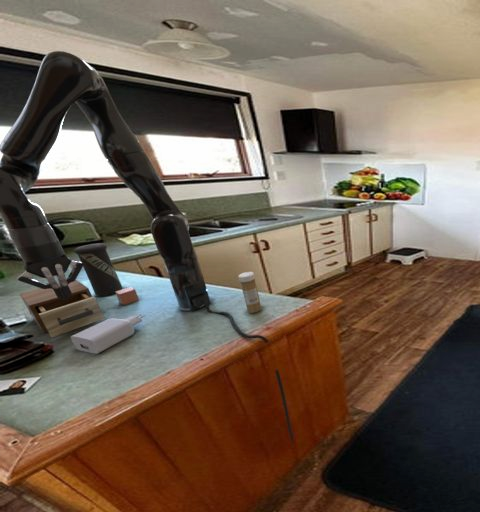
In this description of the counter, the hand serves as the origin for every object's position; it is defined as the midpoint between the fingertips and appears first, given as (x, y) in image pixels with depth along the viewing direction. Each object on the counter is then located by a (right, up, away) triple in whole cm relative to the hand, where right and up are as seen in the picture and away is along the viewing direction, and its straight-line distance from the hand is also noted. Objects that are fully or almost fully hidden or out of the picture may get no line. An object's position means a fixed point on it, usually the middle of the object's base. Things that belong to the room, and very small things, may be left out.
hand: (66, 297), depth 80 cm
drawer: (-5, -9, +7) cm, 13 cm away
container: (-18, -2, +30) cm, 35 cm away
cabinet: (-15, -8, +13) cm, 21 cm away
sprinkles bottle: (+50, -6, +12) cm, 52 cm away
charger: (+14, -12, +1) cm, 19 cm away
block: (-2, -5, +22) cm, 22 cm away
